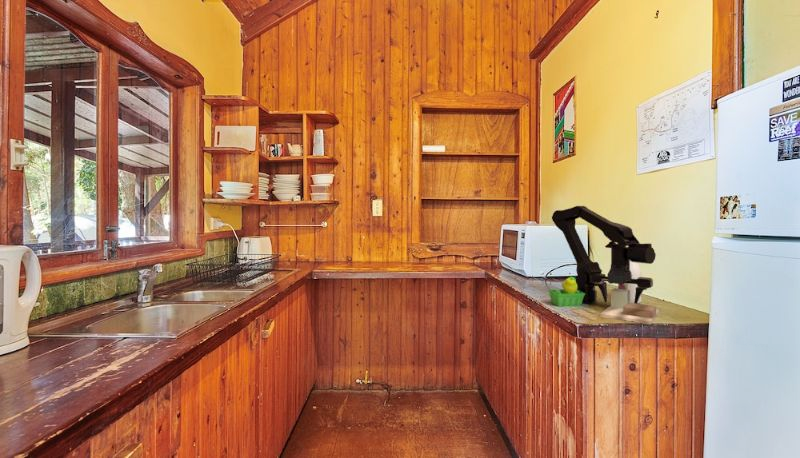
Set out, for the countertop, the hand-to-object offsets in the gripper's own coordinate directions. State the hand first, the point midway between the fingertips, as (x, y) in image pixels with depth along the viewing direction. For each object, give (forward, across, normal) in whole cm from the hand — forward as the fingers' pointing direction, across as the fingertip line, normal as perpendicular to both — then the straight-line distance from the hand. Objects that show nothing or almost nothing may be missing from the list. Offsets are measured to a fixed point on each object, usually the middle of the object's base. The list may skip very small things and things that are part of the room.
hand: (620, 303), depth 128 cm
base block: (+1, +7, -7) cm, 10 cm away
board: (+2, +4, -4) cm, 6 cm away
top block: (+1, 0, 0) cm, 1 cm away
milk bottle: (+2, 0, +16) cm, 16 cm away
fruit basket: (+2, -17, -5) cm, 18 cm away
